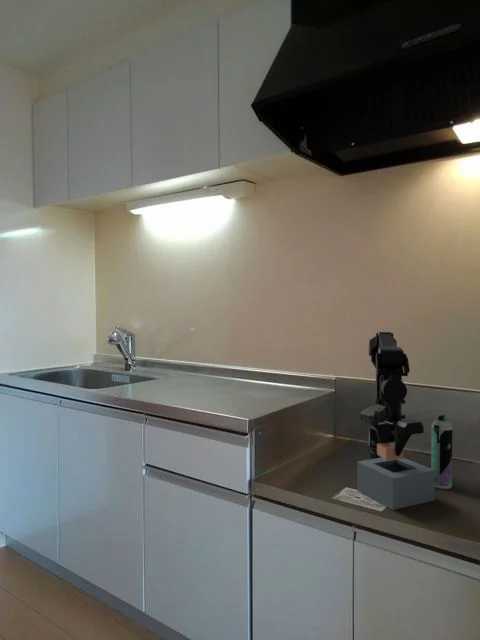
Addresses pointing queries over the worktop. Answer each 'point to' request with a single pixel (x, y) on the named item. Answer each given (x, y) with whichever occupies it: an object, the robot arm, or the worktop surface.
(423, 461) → the worktop surface
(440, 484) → the spray can
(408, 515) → the worktop surface
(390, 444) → the salmon square block
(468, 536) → the worktop surface
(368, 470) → the box
